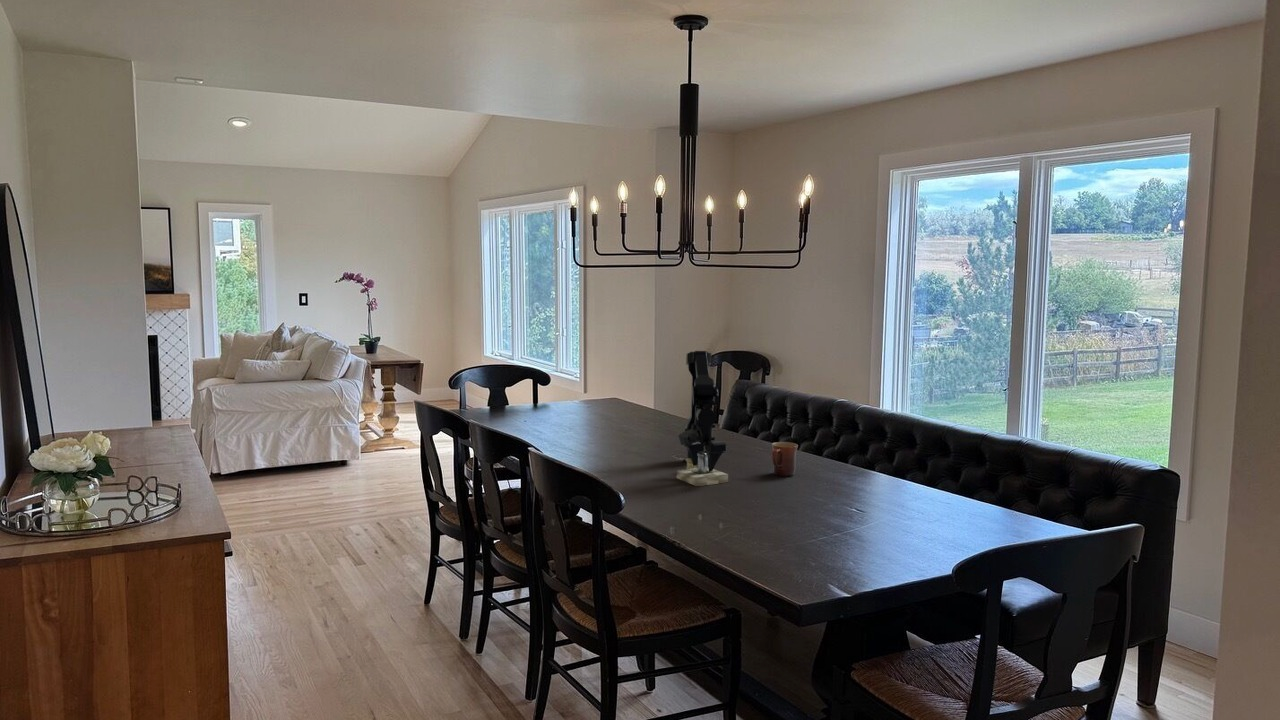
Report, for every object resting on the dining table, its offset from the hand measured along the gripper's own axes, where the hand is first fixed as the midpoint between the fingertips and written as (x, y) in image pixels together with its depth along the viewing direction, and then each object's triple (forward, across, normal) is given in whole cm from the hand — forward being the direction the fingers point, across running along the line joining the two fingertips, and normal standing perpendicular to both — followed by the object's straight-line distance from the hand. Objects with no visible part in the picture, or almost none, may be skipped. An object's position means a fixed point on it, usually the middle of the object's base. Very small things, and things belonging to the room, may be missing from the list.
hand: (702, 468), depth 284 cm
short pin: (+4, -11, +3) cm, 12 cm away
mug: (+4, +6, +28) cm, 29 cm away
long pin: (+4, 0, 0) cm, 4 cm away
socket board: (+4, 0, 0) cm, 4 cm away
